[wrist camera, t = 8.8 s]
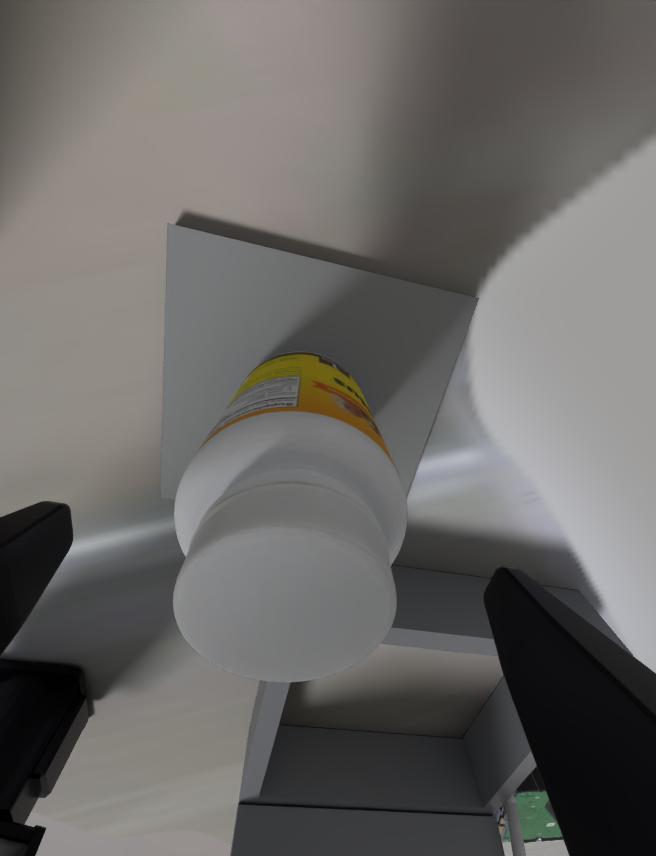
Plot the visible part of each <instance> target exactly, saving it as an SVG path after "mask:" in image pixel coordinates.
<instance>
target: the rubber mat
mask: <svg viewBox="0 0 656 856" xmlns="http://www.w3.org/2000/svg"><path fill="white" fill-rule="evenodd" d="M478 299H479V298H476V297H471V296H467V295H463V294H459V293H455V292H451V291H447V290H442V289H438V288H434V287H430V286H426V285H422V284H418V283H413V282H409V281H405V280H401V279H397V278H393V277H389V276H384V275H380V274H376V273H372V272H368V271H364V270H360V269H355V268H351V267H347V266H343V265H339V264H335V263H331V262H326V261H322V260H318V259H314V258H310V257H306V256H302V255H297V254H293V253H289V252H285V251H281V250H277V249H272V248H268V247H264V246H260V245H256V244H252V243H248V242H243V241H239V240H235V239H231V238H227V237H223V236H219V235H214V234H210V233H206V232H202V231H198V230H194V229H190V228H185V227H181V226H177V225H173V224H169V223H167V260H166V298H165V335H164V373H163V411H162V449H161V487H160V498H162V499H169V500H175V499H176V495H177V490H178V487H179V484H180V481H181V479H182V477H183V475H184V473H185V471H186V469H187V467H188V465H189V463H190V462H191V460H192V458H193V457H194V455H195V454H196V452H197V451H198V449H199V448H200V447H201V445H202V444H203V442H204V440H205V439H206V437H207V436H208V435H209V433H210V432H211V430H212V429H213V427H214V426H215V424H216V422H217V421H218V420H219V418H220V417H221V415H222V413H223V412H224V410H225V409H226V408H227V406H228V404H229V403H230V401H231V400H232V399H233V397H234V396H235V394H236V393H237V391H238V390H239V388H240V387H241V385H242V384H243V382H244V381H245V379H246V378H247V376H248V375H249V374H250V373H251V372H252V371H253V370H254V369H255V368H256V367H258V366H259V365H260V364H261V363H263V362H264V361H266V360H268V359H270V358H272V357H274V356H277V355H280V354H284V353H288V352H311V353H316V354H320V355H323V356H325V357H328V358H330V359H332V360H333V361H335V362H337V363H338V364H340V365H341V366H342V367H343V368H345V369H346V370H347V371H348V372H349V373H350V374H351V376H352V377H353V378H354V379H355V381H356V383H357V384H358V386H359V388H360V389H361V391H362V394H363V396H364V398H365V400H366V402H367V405H368V407H369V409H370V411H371V414H372V416H373V418H374V421H375V423H376V425H377V427H378V429H379V431H380V433H381V436H382V438H383V440H384V442H385V445H386V447H387V450H388V452H389V454H390V456H391V458H392V461H393V463H394V465H395V467H396V469H397V471H398V474H399V477H400V480H401V483H402V486H403V489H404V492H405V496H407V493H408V490H409V488H410V485H411V482H412V479H413V477H414V474H415V471H416V468H417V466H418V463H419V460H420V457H421V455H422V452H423V449H424V447H425V444H426V441H427V438H428V436H429V433H430V430H431V427H432V425H433V422H434V419H435V417H436V414H437V411H438V408H439V406H440V403H441V400H442V397H443V395H444V392H445V389H446V386H447V384H448V381H449V378H450V376H451V373H452V370H453V367H454V365H455V362H456V359H457V356H458V354H459V351H460V348H461V345H462V343H463V340H464V337H465V335H466V332H467V329H468V326H469V324H470V321H471V318H472V315H473V313H474V310H475V307H476V305H477V302H478Z"/></svg>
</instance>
